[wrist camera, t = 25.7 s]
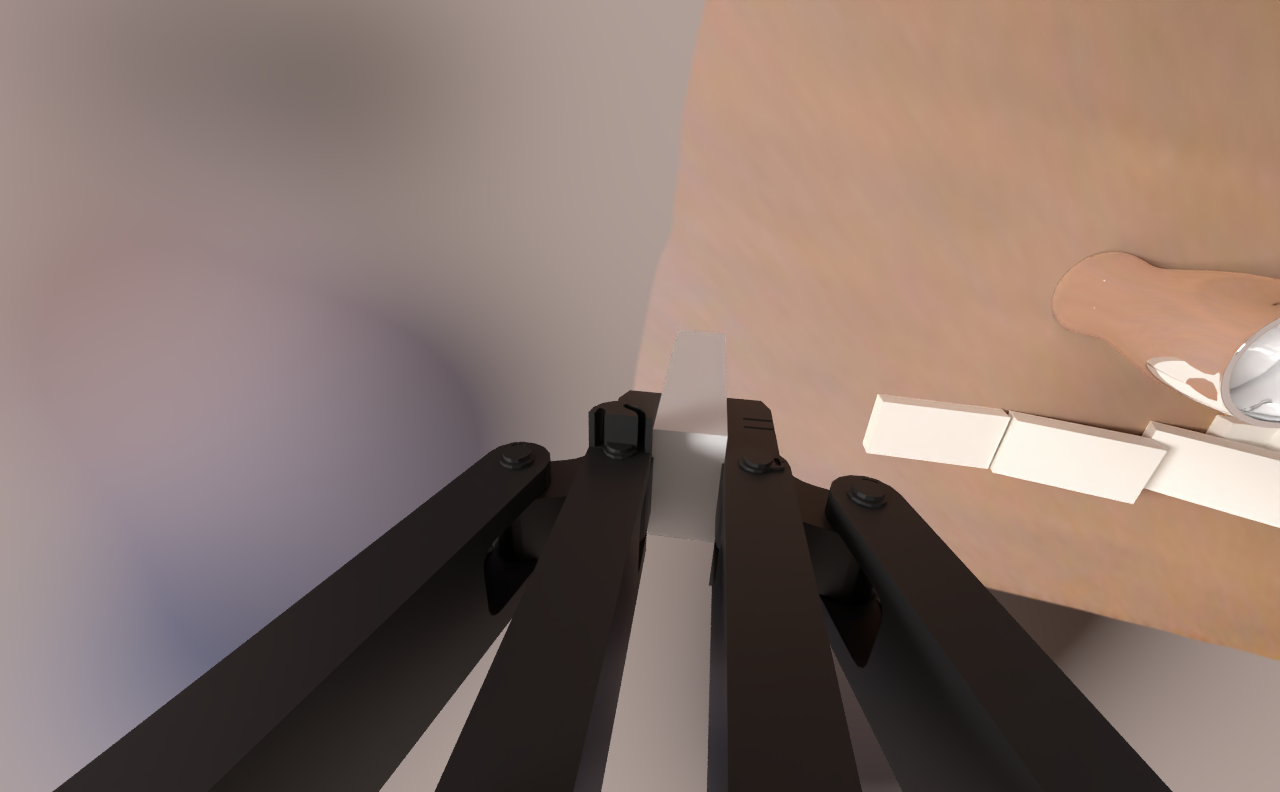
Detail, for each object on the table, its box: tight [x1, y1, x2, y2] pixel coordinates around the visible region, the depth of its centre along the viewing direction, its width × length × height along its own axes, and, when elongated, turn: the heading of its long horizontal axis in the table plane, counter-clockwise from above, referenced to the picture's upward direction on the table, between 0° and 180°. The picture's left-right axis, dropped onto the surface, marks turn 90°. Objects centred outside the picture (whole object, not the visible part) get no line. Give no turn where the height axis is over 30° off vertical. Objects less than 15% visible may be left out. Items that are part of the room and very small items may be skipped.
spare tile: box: [863, 394, 1011, 469], centre depth 43 cm, size 2×5×10 cm
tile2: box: [989, 410, 1167, 504], centre depth 41 cm, size 2×5×10 cm
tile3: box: [1142, 421, 1280, 528], centre depth 39 cm, size 2×5×10 cm
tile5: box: [1206, 415, 1280, 448], centre depth 40 cm, size 2×5×10 cm
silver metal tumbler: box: [1052, 252, 1280, 428], centre depth 31 cm, size 7×7×15 cm
